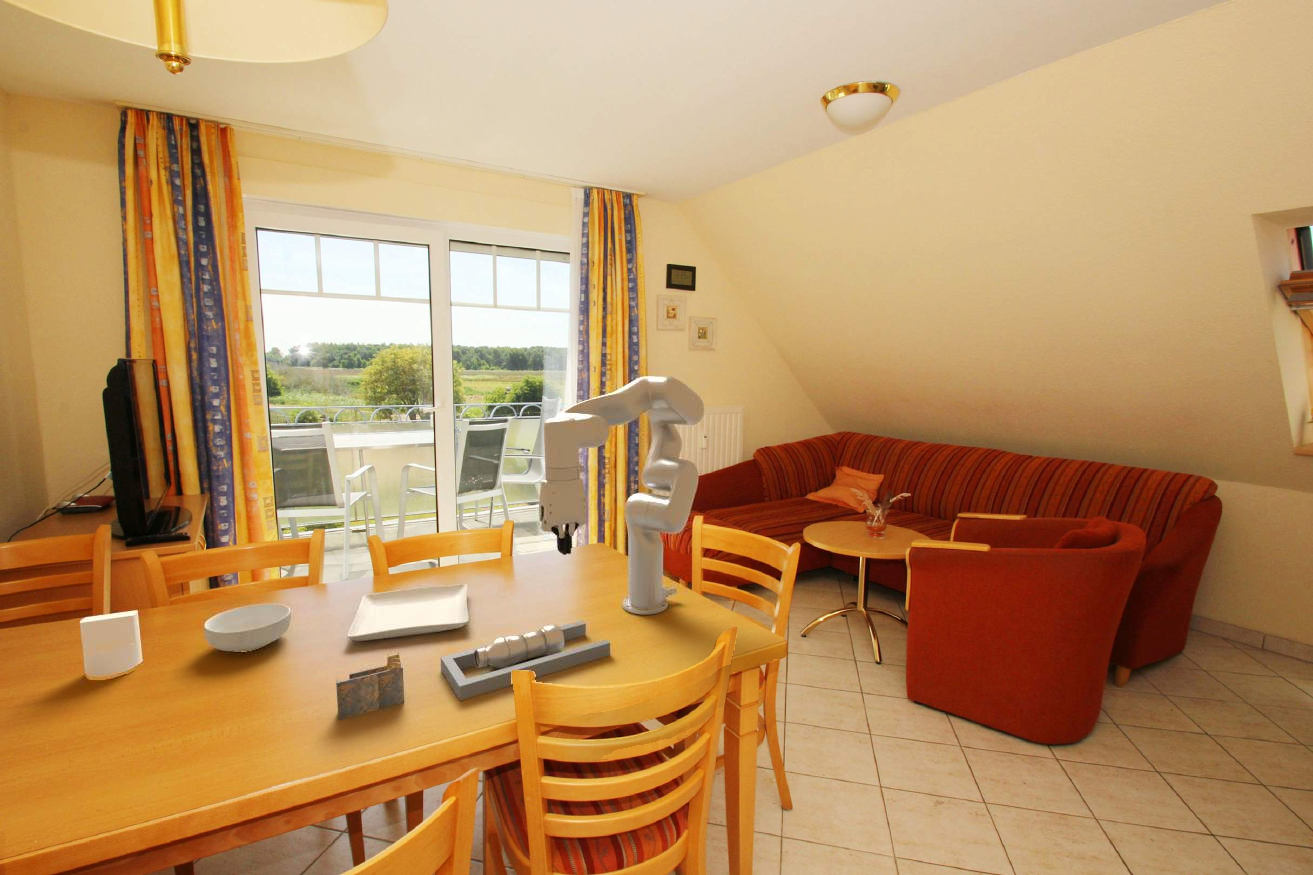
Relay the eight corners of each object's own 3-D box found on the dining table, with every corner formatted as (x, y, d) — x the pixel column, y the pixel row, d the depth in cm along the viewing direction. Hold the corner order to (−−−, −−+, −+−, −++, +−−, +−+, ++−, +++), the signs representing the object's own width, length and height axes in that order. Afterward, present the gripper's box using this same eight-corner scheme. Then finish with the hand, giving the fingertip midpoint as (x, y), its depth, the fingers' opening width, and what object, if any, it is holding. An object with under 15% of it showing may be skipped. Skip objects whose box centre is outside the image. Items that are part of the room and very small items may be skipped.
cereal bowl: (302, 645, 139) (300, 616, 138) (215, 671, 126) (212, 639, 126) (280, 623, 150) (278, 596, 149) (199, 645, 138) (196, 616, 137)
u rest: (582, 632, 147) (582, 620, 146) (610, 655, 135) (610, 642, 135) (441, 670, 128) (440, 657, 127) (459, 700, 116) (459, 686, 116)
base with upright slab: (78, 685, 120) (72, 628, 119) (94, 665, 128) (89, 612, 127) (135, 674, 125) (130, 620, 123) (148, 656, 132) (143, 604, 131)
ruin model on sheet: (402, 697, 118) (400, 650, 117) (404, 704, 116) (402, 657, 114) (337, 713, 112) (335, 665, 111) (338, 722, 110) (336, 672, 109)
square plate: (467, 594, 171) (467, 581, 170) (469, 635, 145) (468, 620, 145) (364, 605, 162) (363, 591, 162) (346, 651, 137) (345, 635, 136)
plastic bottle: (568, 628, 135) (482, 649, 123) (567, 656, 135) (481, 680, 124) (555, 618, 140) (471, 637, 128) (555, 645, 140) (471, 667, 129)
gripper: (584, 467, 139) (586, 542, 141) (524, 474, 130) (527, 554, 133) (600, 472, 133) (601, 550, 135) (537, 480, 124) (540, 564, 127)
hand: (564, 552), depth 134 cm, fingers closed
